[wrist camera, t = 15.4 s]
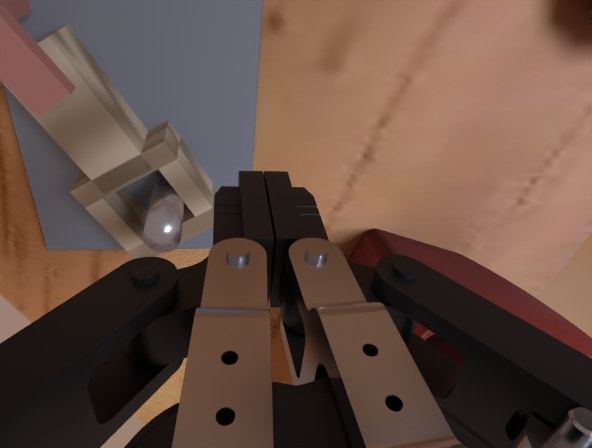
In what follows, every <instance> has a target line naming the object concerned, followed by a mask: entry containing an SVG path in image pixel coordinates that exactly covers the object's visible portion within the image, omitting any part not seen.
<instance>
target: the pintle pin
mask: <svg viewBox="0 0 592 448" xmlns="http://www.w3.org/2000/svg"><path fill="white" fill-rule="evenodd" d="M183 213H184V201H183V200H182V199H181V198H180V196H179V195H178V194H177V192H176V191H175V190H174V189H173V187H172V186H171V185H170V183H169V182H168V181H167V180H166V178H165V177H164V176H163V174H162V173H161V172H160V171H158V173H157V175H156V178H155V183H154V187H153V192H152V196H151V201H150V205H149V209H148V214H147V218H146V223H145V227H144V232H143V241H144V243H145V244H146V246H147V247H149V248H150V249H152V250H154V251H157V252H169V251H172V250H174V249H175V248H176V247H178V245H179V244H180V241H181V233H182V223H183Z"/></svg>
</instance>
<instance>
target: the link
mask: <svg viewBox="0 0 592 448" xmlns="http://www.w3.org/2000/svg"><path fill="white" fill-rule="evenodd" d="M37 44H38V45H39V46H40V47H41V48H42V50H43V51H44V52H45V53H46V54H47V55H48V56H49V57H50V59H51V60H52V61H53V62H54V63H55V64H56V65H57V66H58V68H59V69H60V70H61V71H62V72H63V73H64V74H65V75H66V77H67V78H68V79H69V80H70V81H71V82H72V83H73V84H74V86H75V87H76V88H75V90H74V91H73V92H72V93H71V94H70V95H68V96H67V97H65V98H64V99H62V100H61V101H59V102H58V103H56V104H55V105H53V106H52V107H50V108H49V109H47V110H46V111H44V112H43V113H41V114H40V115H38V116H37V115H36V114H35V113H34V112H33V111H32V110H31V109H30V108H29V107H28V106H27V105H26V104H25V103H24V102H23V101H22V100H21V99H20V98H19V97H18V96H17V95H16V94H15V93H14V92H13V91H12V90H11V89H10V88H9V87H8V86H7V85H6V84H5V83H4V82H3V81H2V80H1V79H0V81H1V82H2V83H3V84H4V85H5V86H6V88H7V89H8V90H9V91H10V92H11V93H12V94H13V95H14V96H15V97H16V98H17V100H18V101H19V102H20V103H21V104H22V105H23V106H24V107H25V108H26V109H27V111H28V112H29V113H30V114H31V115H32V116H33V117H34V118H35V119H36V120H37V121H38V123H39V124H40V125H41V126H42V127H43V128H44V129H45V130H46V131H47V132H48V134H49V135H50V136H51V137H52V138H53V139H54V140H55V141H56V142H57V143H58V144H59V146H60V147H61V148H62V149H63V150H64V151H65V152H66V153H67V154H68V155H69V156H70V158H71V159H72V160H73V161H74V162H75V163H76V164H77V165H78V166H79V167H80V169H81V172H80V174H79V176H78V177H77V179H76V181H75V183H74V185H73V187H72V188H71V190H70V193H71V194H72V195H73V196H74V197H75V198H76V199H77V200H78V201H79V202H80V203H81V204H82V205H83V207H84V208H85V209H86V210H87V211H88V212H89V213H90V214H91V215H92V216H93V217H94V218H95V219H96V220H97V221H98V222H99V223H100V224H101V225H102V226H103V227H104V228H105V229H106V230H107V231H108V232H109V233H110V234H111V235H112V236H113V237H114V238H115V239H116V240H117V241H118V242H119V244H120V245H121V246H122V247H123V248H124V249H125V250H126V251H127V252H128V253H129V254H130V255H131V256H132V257H133V258H134V259H137V258H142V257H154V256H156V255H158V254H160V253H162V252H157V251H154V250H152V249H150V248H149V247H147V246H146V244H145V243H144V241H143V232H144V227H145V223H146V218H147V214H148V212H147V211H146V210H145V209H144V208H143V206H142V205H141V204H140V203H139V202H138V201H137V199H136V198H135V197H134V196H133V195H132V194H131V192H130V191H129V190H128V189H127V188H126V187H125V186H127V185H129V184H131V183H133V182H135V181H137V180H139V179H141V178H142V177H144V176H146V175H148V174H150V173H152V172H154V171H156V170H158V169H159V171H160V172H161V173H162V174H163V176H164V177H165V178H166V180H167V181H168V182H169V183H170V185H171V186H172V187H173V189H174V190H175V191H176V192H177V194H178V195H179V196H180V198H181V199H182V200H183V201H184V213H183V223H182V233H181V241H180V243H182V242H184V241H186V240H188V239H190V238H192V237H194V236H196V235H198V234H200V233H202V232H204V231H206V230H208V229H210V228H212V227H213V222H214V195H215V193H216V192H217V191H218V190H217V188H216V187H215V185H214V184H213V183H212V181H211V180H210V178H209V177H208V175H207V174H206V173H205V171H204V170H203V168H202V167H201V165H200V164H199V163H198V161H197V160H196V158H195V157H194V155H193V154H192V153H191V151H190V150H189V148H188V147H187V145H186V144H185V143H184V141H183V140H182V138H181V137H180V135H179V134H178V133H177V131H176V130H175V128H174V127H173V125H172V124H171V123H170V121H169V120H168V121H166V122H164V123H162V124H160V125H159V126H157V127H155V128H153V129H151V130H149V131H148V130H147V129H146V128H145V126H144V125H143V124H142V122H141V121H140V120H139V118H138V117H137V116H136V114H135V113H134V112H133V110H132V109H131V108H130V106H129V105H128V104H127V102H126V101H125V99H124V98H123V97H122V95H121V94H120V93H119V91H118V90H117V89H116V87H115V86H114V85H113V83H112V82H111V81H110V79H109V78H108V77H107V75H106V74H105V73H104V71H103V70H102V69H101V67H100V66H99V65H98V63H97V62H96V61H95V59H94V58H93V57H92V55H91V54H90V53H89V51H88V50H87V49H86V47H85V46H84V45H83V43H82V42H81V41H80V39H79V38H78V37H77V35H76V34H75V33H74V31H73V30H72V29H71V27H70V26H69V24H68V25H66V26H64V27H63V28H61V29H59V30H58V31H56V32H54V33H53V34H51V35H49V36H48V37H46V38H44V39H43V40H41V41H39V42H38V43H37Z"/></svg>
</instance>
